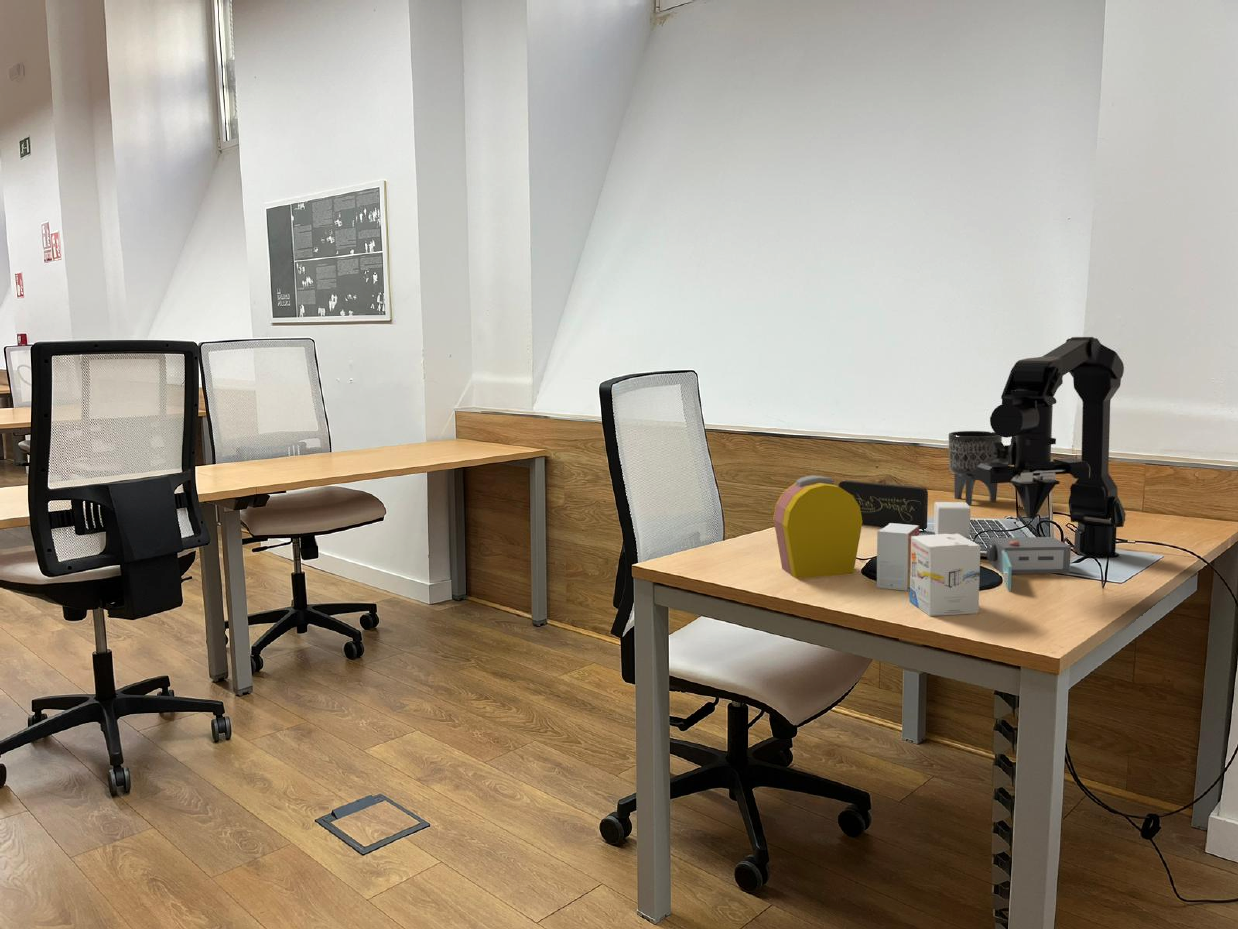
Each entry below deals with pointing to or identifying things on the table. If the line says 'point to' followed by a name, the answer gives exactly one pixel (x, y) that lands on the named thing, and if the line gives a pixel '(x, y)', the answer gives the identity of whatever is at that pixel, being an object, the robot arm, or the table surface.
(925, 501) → the nameplate
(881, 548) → the small box
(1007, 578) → the side door
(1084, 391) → the robot arm
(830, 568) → the yellow arched block
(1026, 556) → the box
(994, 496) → the planter
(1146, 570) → the table surface
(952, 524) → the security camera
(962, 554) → the ink box
